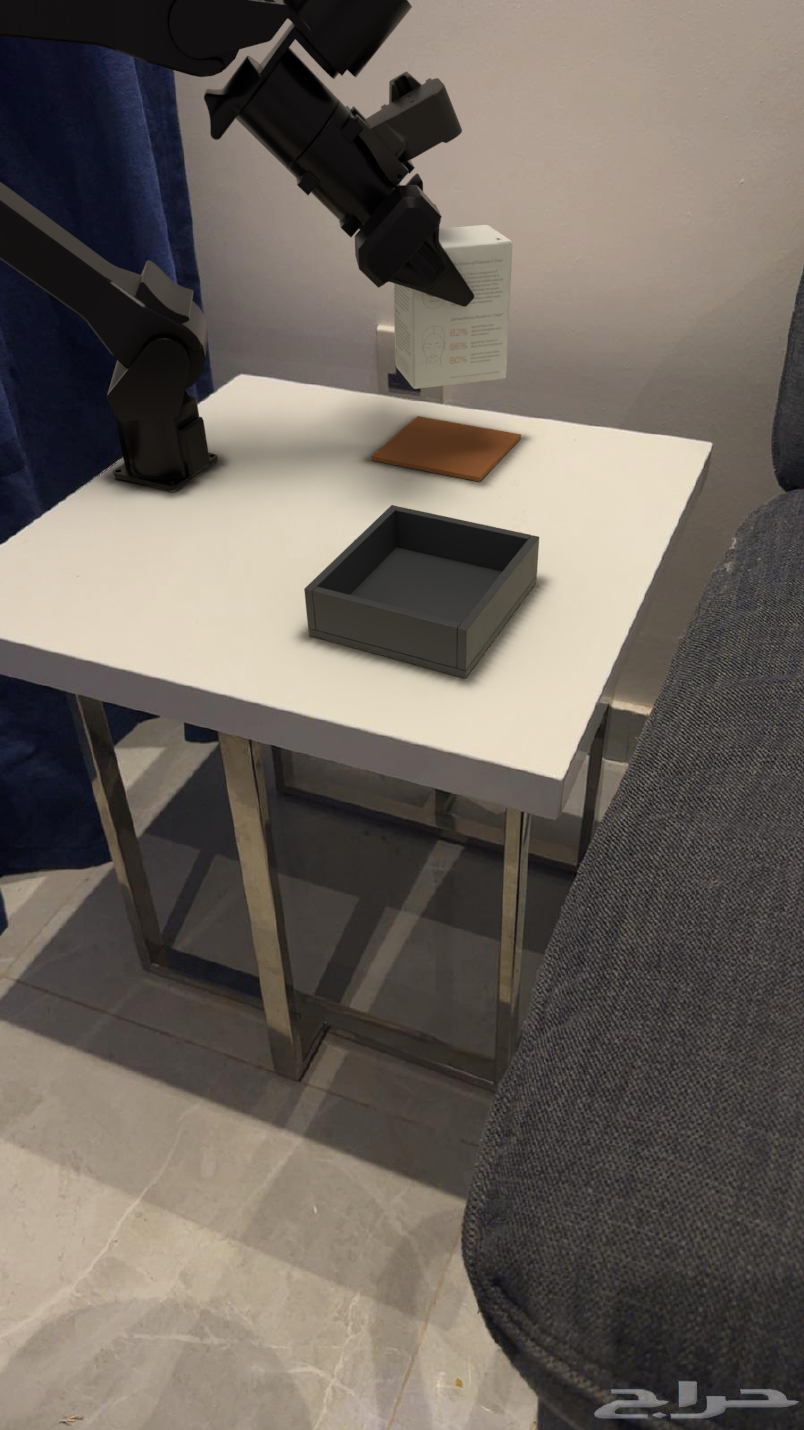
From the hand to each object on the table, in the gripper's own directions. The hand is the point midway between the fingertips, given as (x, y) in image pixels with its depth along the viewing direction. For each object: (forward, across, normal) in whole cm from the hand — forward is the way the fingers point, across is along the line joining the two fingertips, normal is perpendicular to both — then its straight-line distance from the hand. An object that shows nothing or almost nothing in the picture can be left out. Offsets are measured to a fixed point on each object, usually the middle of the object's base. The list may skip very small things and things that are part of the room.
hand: (463, 288), depth 80 cm
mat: (+9, 0, +10) cm, 13 cm away
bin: (+5, -24, +14) cm, 28 cm away
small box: (+4, 0, +6) cm, 7 cm away
